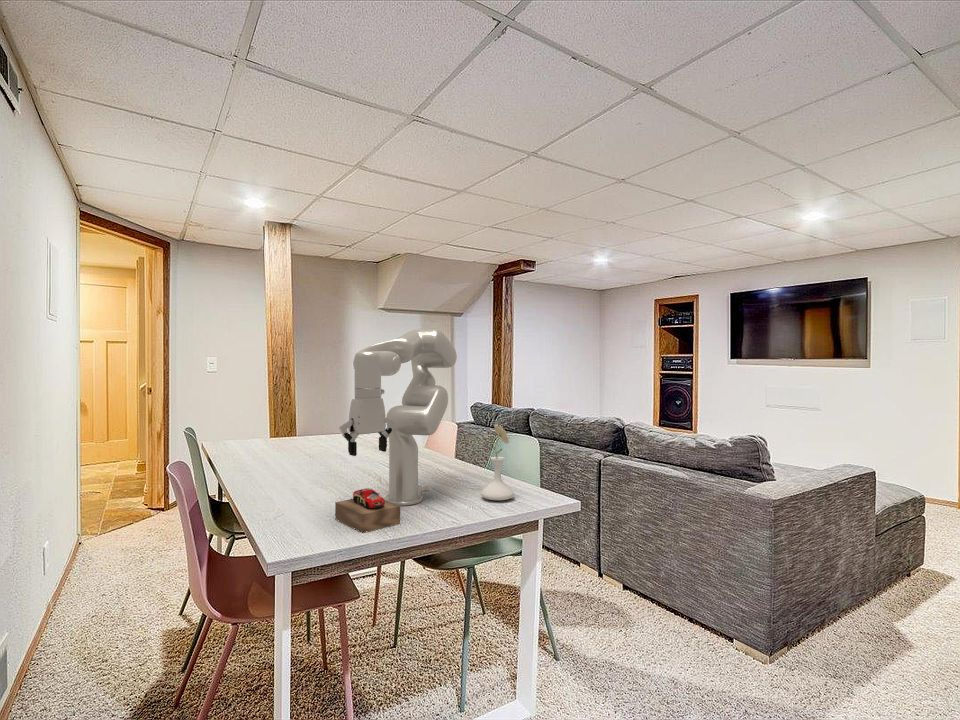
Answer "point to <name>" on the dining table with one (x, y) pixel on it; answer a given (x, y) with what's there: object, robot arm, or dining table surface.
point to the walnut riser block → (367, 515)
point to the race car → (368, 498)
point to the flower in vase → (498, 474)
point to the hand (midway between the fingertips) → (368, 453)
